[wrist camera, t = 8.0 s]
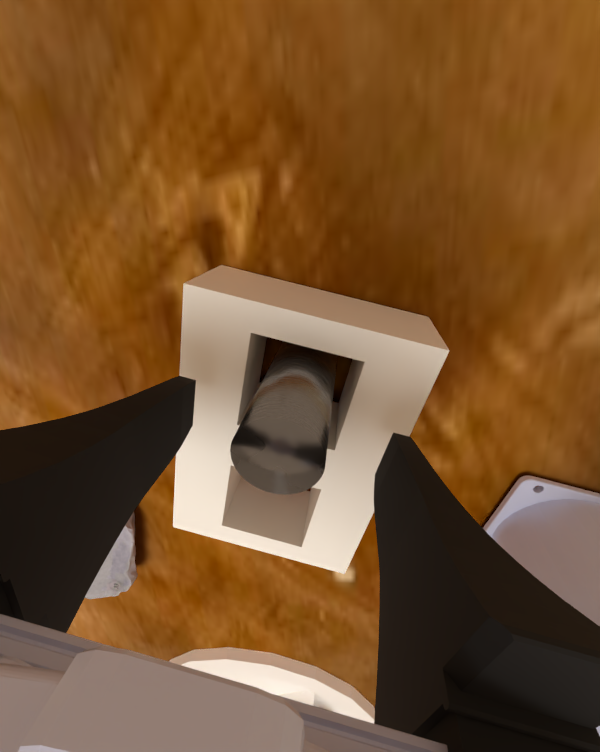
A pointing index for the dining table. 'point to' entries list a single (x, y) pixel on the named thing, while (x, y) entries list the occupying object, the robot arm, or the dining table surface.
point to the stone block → (117, 566)
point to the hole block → (348, 417)
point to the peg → (288, 422)
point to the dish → (281, 678)
